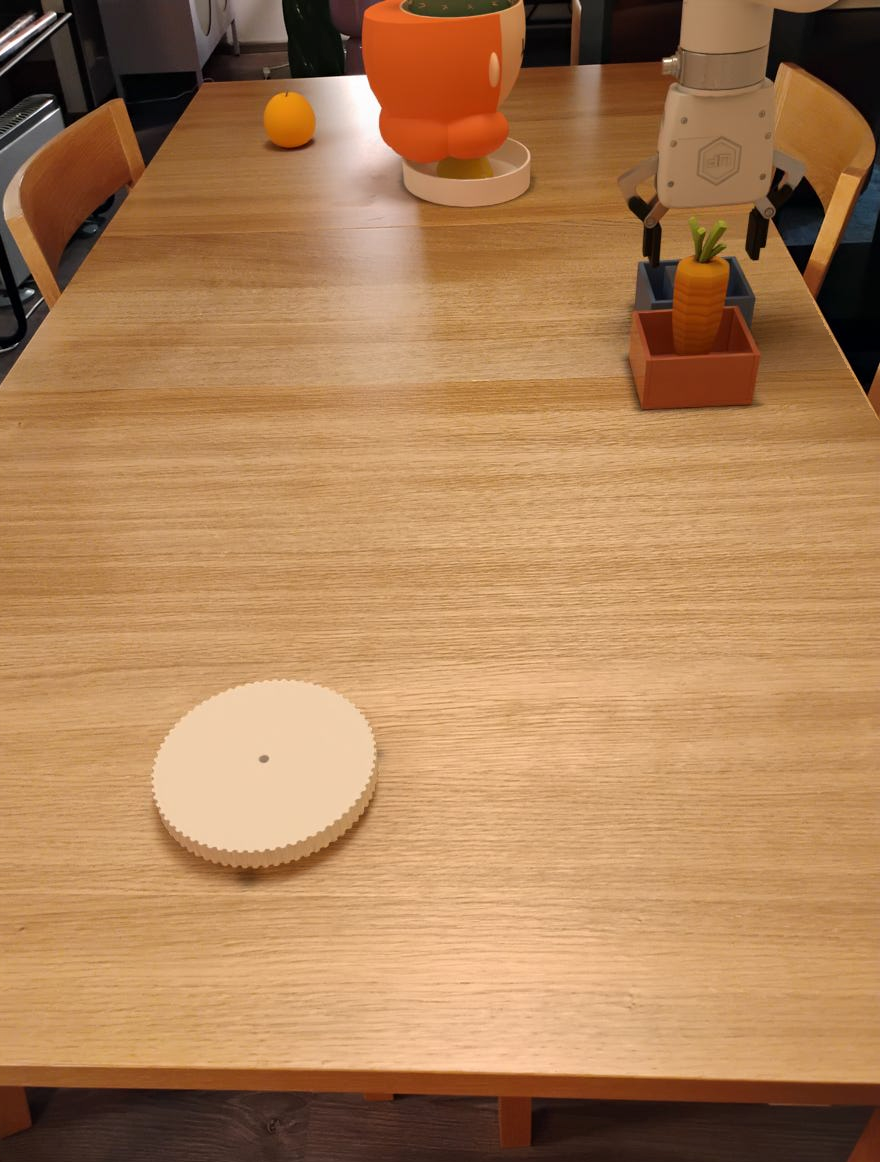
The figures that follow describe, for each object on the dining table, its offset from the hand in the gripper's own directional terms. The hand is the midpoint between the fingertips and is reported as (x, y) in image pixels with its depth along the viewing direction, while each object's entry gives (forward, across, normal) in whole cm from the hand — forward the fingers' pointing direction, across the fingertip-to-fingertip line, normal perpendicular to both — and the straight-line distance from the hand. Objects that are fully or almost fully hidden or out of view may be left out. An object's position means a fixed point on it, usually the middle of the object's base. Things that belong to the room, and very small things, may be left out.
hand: (702, 259), depth 102 cm
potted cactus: (+6, -26, +47) cm, 54 cm away
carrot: (+7, -2, -11) cm, 13 cm away
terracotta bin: (+7, -3, -11) cm, 13 cm away
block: (+7, -1, 0) cm, 7 cm away
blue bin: (+7, -1, 0) cm, 7 cm away
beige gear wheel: (+7, -37, -60) cm, 71 cm away
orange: (+5, -50, +69) cm, 86 cm away
